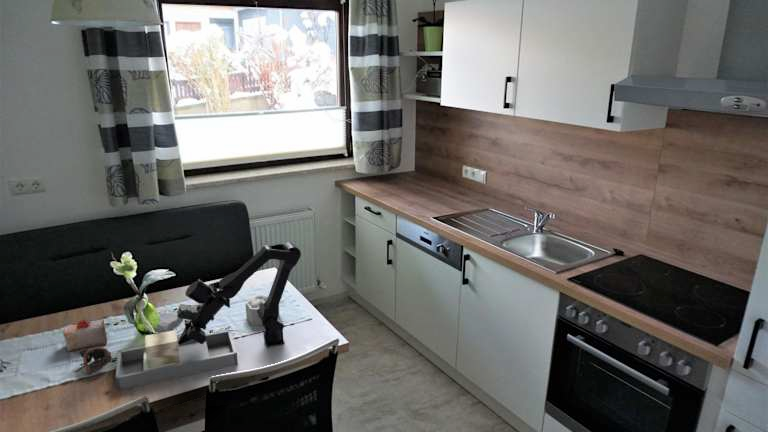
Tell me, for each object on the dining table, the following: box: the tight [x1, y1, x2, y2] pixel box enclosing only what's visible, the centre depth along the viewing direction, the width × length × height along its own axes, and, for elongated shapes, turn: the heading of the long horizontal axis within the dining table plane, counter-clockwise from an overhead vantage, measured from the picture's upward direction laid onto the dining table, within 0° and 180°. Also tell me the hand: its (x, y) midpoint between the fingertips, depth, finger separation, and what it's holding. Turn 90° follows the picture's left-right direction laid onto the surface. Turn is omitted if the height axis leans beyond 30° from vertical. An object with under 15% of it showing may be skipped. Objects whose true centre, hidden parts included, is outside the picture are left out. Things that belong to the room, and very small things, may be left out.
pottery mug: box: [79, 346, 112, 375], centre depth 178 cm, size 12×10×8 cm
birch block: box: [144, 329, 180, 368], centre depth 177 cm, size 10×8×8 cm
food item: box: [62, 318, 108, 352], centre depth 190 cm, size 14×8×10 cm, turn 116°
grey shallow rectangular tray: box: [115, 329, 239, 391], centre depth 180 cm, size 38×17×4 cm, turn 114°
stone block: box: [157, 312, 184, 333], centre depth 205 cm, size 12×5×10 cm
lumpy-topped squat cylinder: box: [245, 294, 280, 326], centre depth 211 cm, size 10×13×9 cm
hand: (178, 343), depth 179 cm, fingers closed
